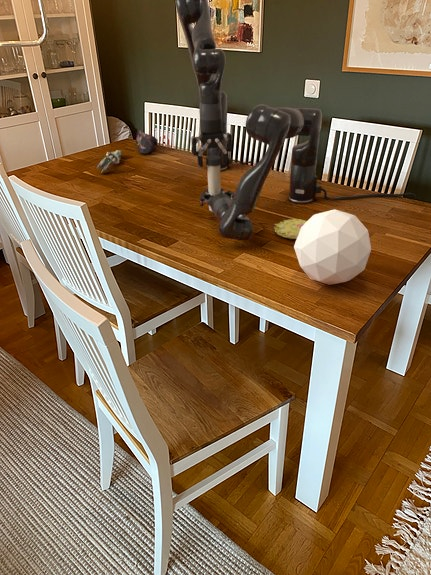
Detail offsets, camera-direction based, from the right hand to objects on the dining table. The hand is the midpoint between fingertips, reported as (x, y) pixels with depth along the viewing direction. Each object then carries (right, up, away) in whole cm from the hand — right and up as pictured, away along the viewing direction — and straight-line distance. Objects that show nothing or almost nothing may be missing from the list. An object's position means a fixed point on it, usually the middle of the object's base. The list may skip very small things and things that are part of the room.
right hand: (213, 191), depth 164 cm
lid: (0, +9, -9) cm, 13 cm away
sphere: (+32, -33, -42) cm, 63 cm away
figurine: (-50, +24, +51) cm, 75 cm away
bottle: (+1, -7, +1) cm, 7 cm away
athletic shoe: (-34, +37, +72) cm, 88 cm away
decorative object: (+29, -18, -18) cm, 39 cm away
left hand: (0, +7, -8) cm, 11 cm away
